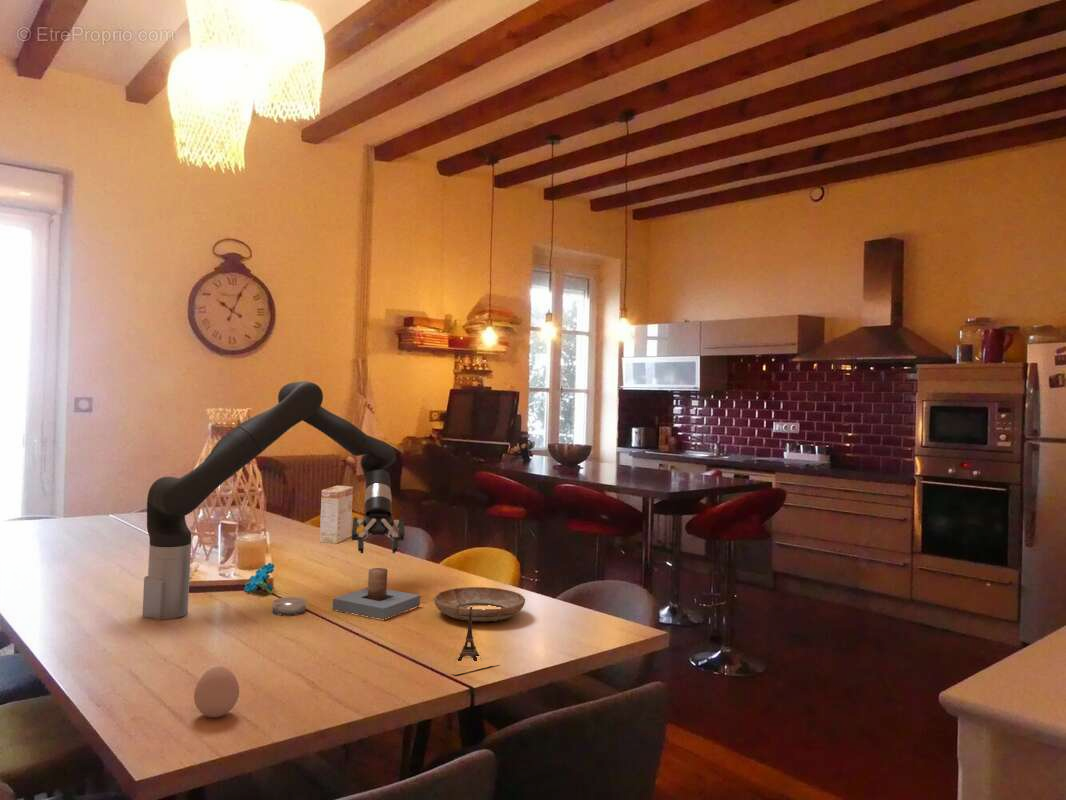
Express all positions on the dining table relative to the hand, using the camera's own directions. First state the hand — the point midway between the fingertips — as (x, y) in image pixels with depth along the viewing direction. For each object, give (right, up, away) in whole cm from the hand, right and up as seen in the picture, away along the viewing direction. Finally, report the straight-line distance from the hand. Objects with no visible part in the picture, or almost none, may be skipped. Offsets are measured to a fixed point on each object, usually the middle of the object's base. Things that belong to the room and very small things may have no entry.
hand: (378, 551), depth 214 cm
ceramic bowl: (+28, -15, -9) cm, 33 cm away
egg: (-12, -13, -79) cm, 81 cm away
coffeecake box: (-32, -12, +83) cm, 90 cm away
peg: (+1, -13, -7) cm, 15 cm away
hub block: (+1, -13, -7) cm, 15 cm away
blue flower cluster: (-33, -12, +4) cm, 36 cm away
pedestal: (-20, -12, -14) cm, 27 cm away
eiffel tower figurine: (+28, -16, -46) cm, 56 cm away
